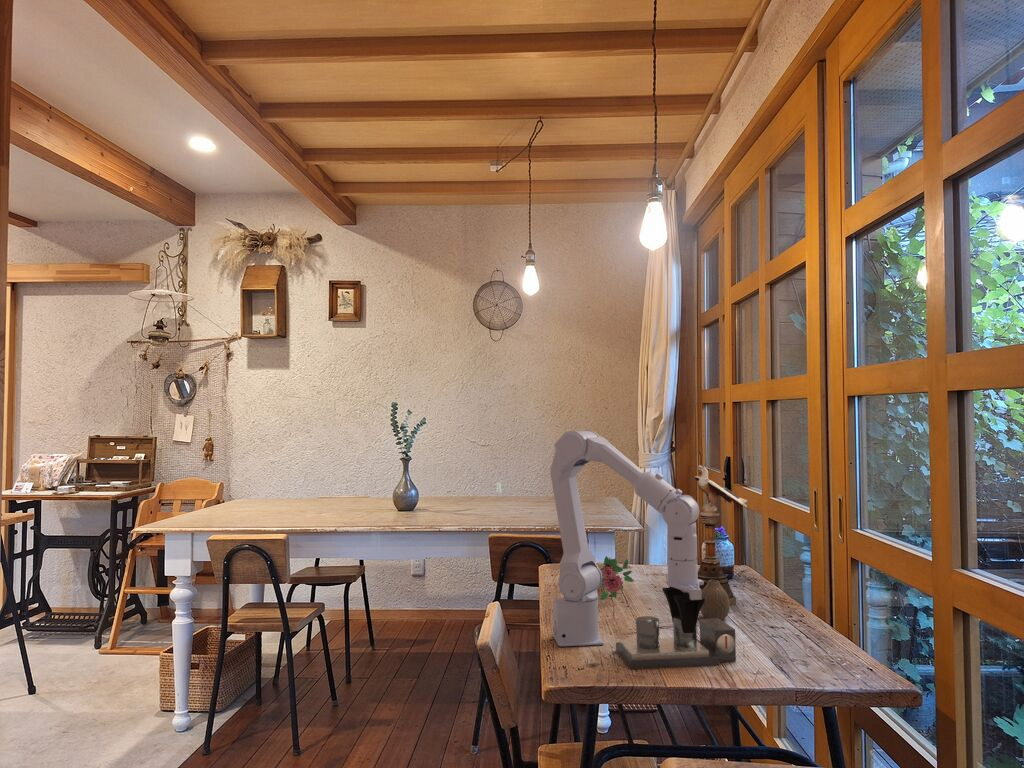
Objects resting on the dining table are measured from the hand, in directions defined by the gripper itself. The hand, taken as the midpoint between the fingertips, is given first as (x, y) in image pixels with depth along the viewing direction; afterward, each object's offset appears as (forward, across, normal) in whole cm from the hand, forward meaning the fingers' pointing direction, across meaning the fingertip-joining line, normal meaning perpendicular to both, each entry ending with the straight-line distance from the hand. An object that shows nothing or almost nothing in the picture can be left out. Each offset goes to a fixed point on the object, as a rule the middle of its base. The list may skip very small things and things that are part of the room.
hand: (683, 628), depth 141 cm
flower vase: (+6, +54, +2) cm, 55 cm away
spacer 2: (+3, 0, 0) cm, 3 cm away
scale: (+5, 0, +2) cm, 6 cm away
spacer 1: (+3, 0, +7) cm, 8 cm away
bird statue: (+6, +41, -24) cm, 48 cm away
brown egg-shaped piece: (+6, +25, -16) cm, 30 cm away
